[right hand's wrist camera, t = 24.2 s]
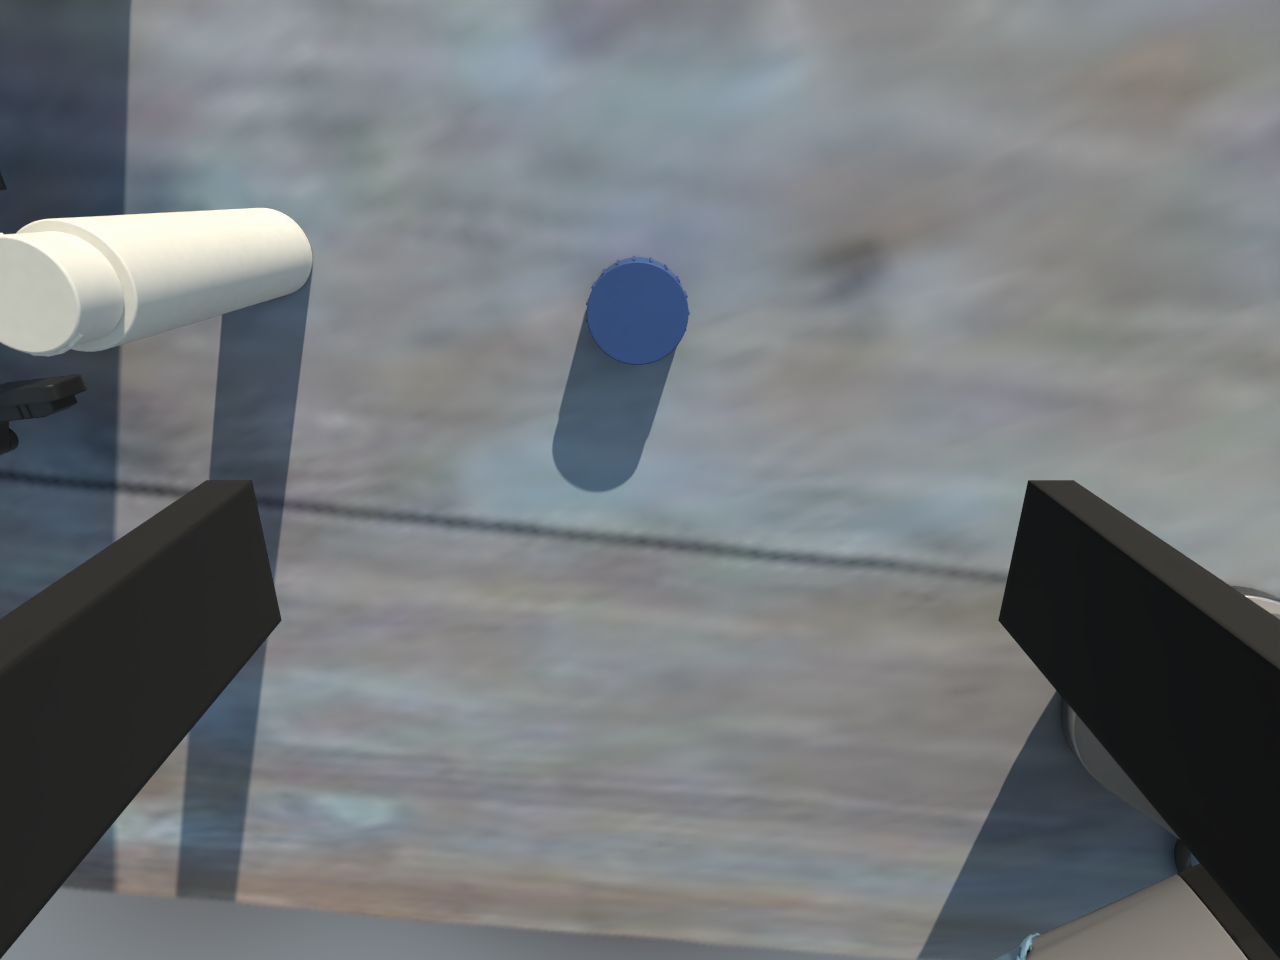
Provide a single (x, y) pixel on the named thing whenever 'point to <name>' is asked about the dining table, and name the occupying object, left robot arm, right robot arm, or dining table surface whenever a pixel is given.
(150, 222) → the jar
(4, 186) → the left robot arm
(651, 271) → the lid
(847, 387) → the dining table surface
